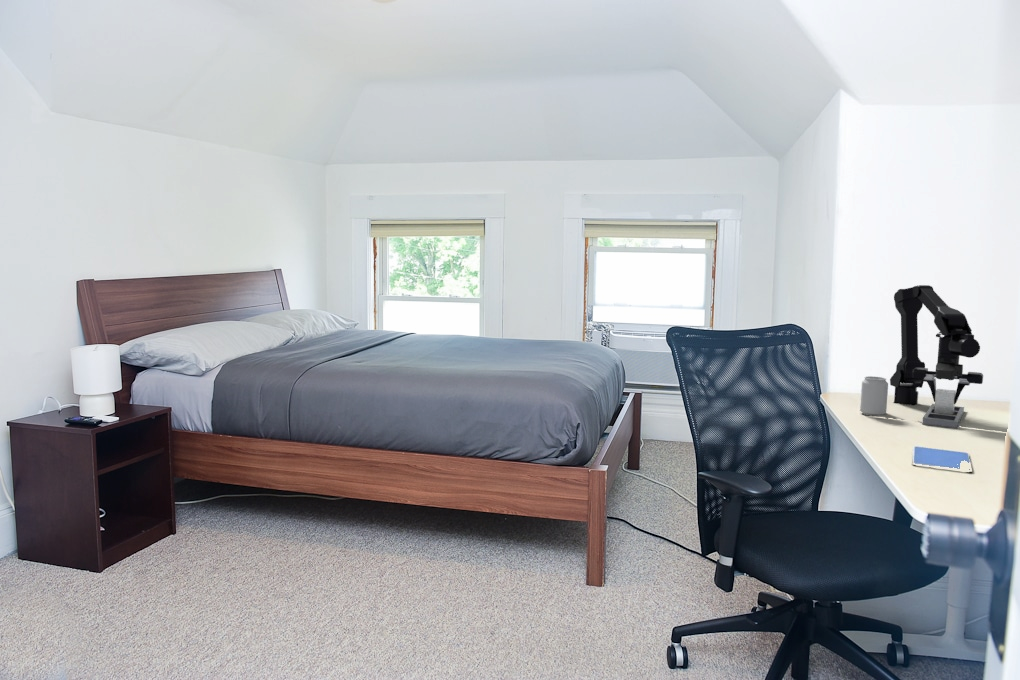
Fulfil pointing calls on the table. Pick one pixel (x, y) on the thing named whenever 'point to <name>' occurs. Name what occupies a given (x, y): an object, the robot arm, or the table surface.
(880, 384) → the can
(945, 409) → the metal block
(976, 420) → the table surface
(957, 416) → the gray compartment tray
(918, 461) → the tablet computer
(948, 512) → the table surface
